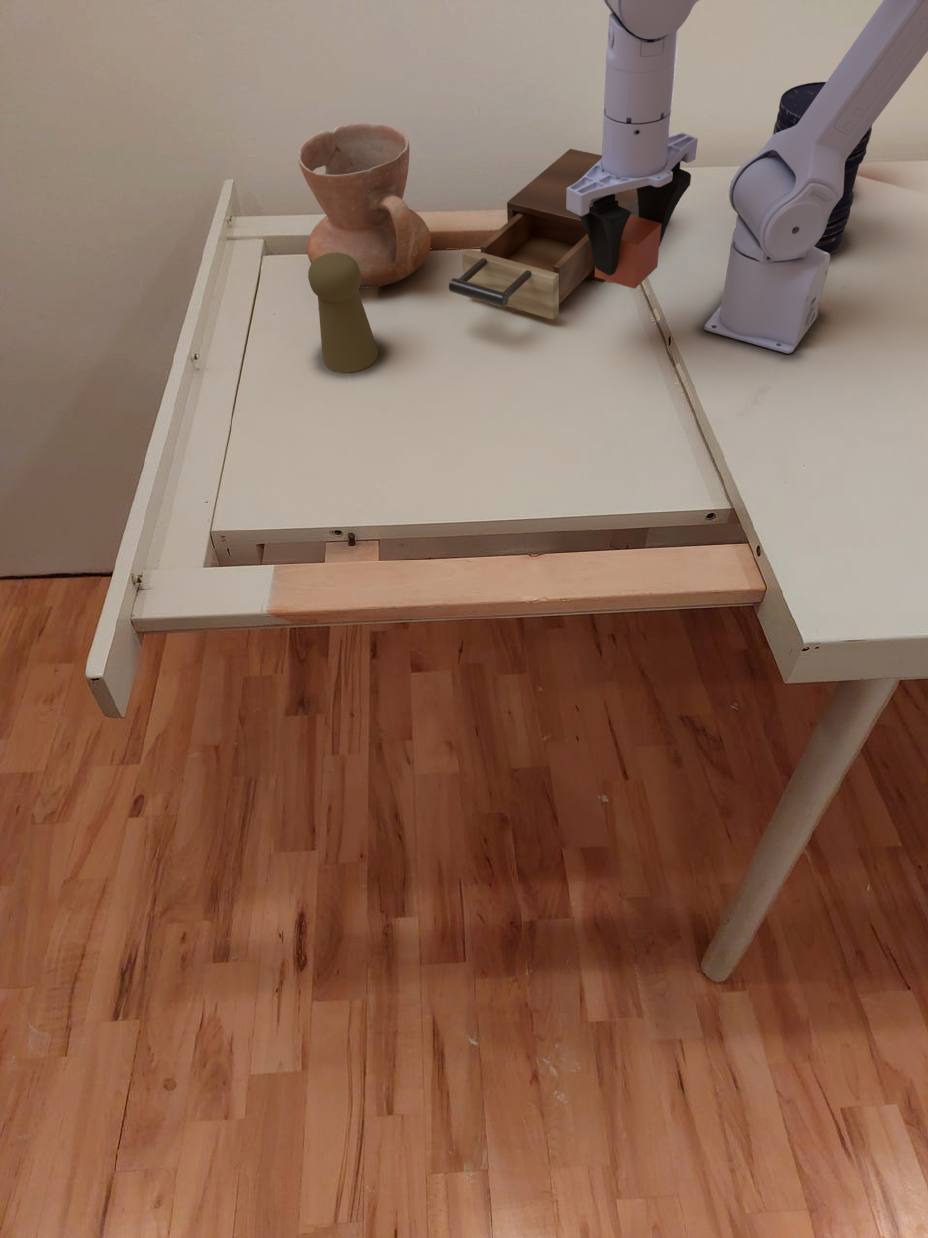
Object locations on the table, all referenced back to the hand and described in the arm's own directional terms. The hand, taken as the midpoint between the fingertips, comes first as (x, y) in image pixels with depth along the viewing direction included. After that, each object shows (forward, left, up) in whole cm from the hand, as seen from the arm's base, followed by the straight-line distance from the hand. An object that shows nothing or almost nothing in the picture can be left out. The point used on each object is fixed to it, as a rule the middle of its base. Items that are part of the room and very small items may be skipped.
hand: (626, 258), depth 87 cm
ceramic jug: (+32, 0, -10) cm, 34 cm away
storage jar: (-9, -28, -10) cm, 30 cm away
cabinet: (+13, -17, -9) cm, 23 cm away
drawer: (+13, -3, -8) cm, 16 cm away
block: (0, 0, -1) cm, 1 cm away
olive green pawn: (+24, +15, -10) cm, 30 cm away
